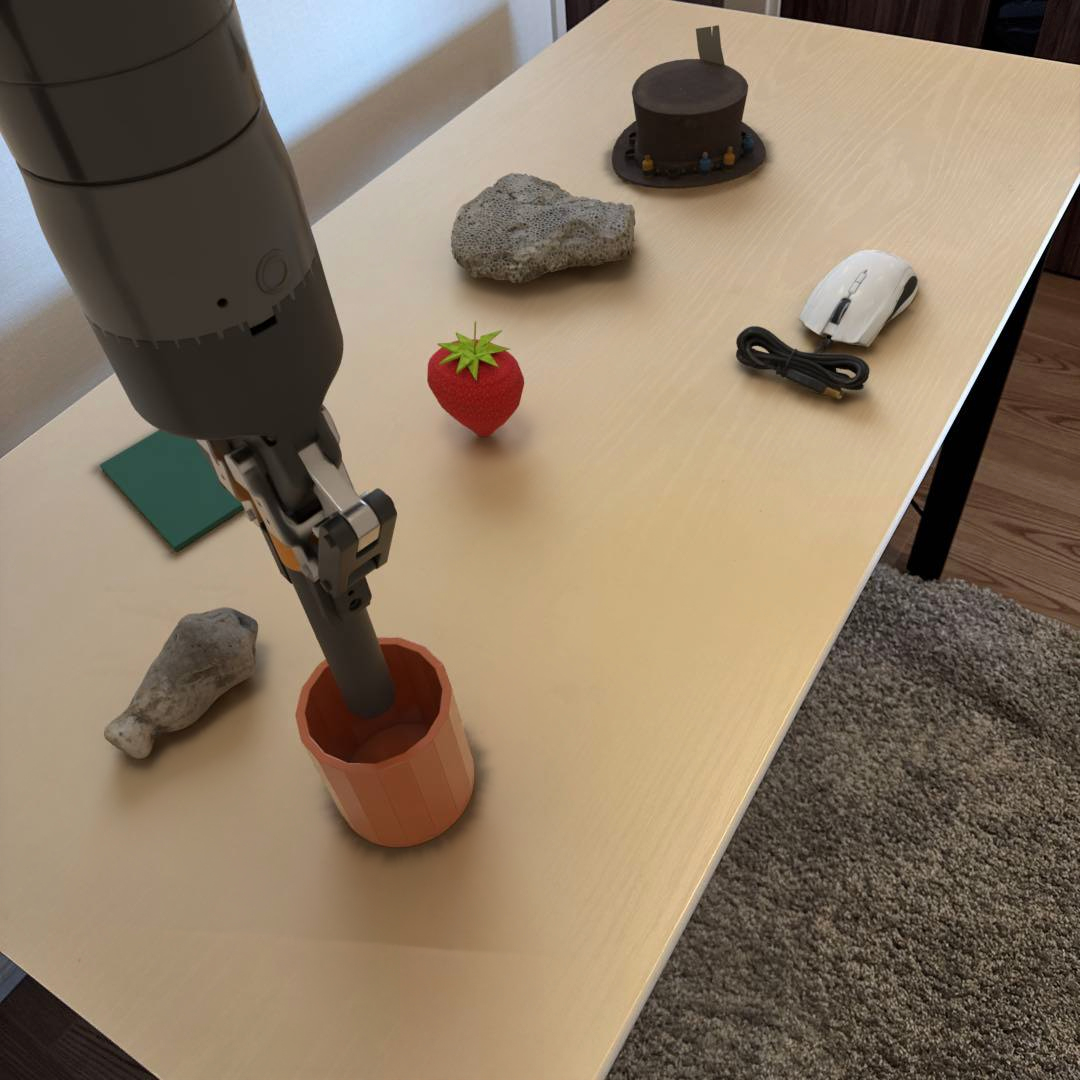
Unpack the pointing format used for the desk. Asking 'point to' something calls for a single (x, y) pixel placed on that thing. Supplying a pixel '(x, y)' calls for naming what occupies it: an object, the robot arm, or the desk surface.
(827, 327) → the computer mouse
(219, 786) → the desk surface
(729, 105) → the top hat
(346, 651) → the marker
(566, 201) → the rock
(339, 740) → the pen cup
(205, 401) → the robot arm
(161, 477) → the mat
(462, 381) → the strawberry
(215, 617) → the stone
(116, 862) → the desk surface
